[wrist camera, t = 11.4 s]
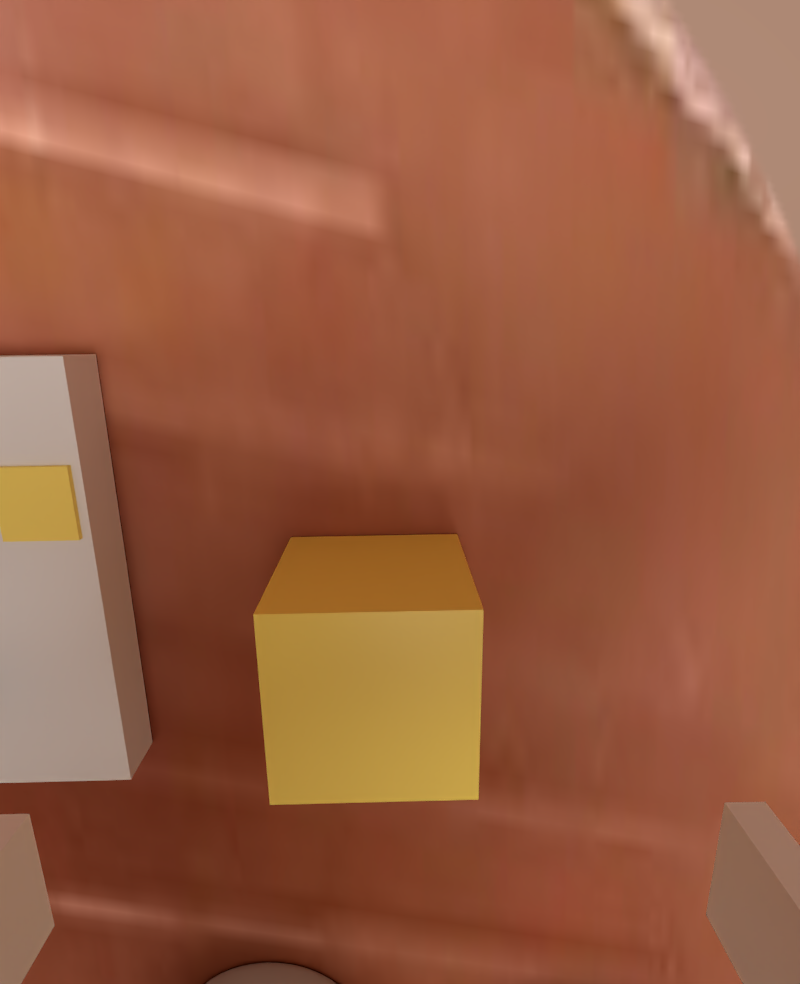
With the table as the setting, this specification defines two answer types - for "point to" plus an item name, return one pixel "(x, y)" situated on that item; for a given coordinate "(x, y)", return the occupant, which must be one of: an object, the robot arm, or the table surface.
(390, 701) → the cap
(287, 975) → the mug
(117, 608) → the breaker board
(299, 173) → the table surface
